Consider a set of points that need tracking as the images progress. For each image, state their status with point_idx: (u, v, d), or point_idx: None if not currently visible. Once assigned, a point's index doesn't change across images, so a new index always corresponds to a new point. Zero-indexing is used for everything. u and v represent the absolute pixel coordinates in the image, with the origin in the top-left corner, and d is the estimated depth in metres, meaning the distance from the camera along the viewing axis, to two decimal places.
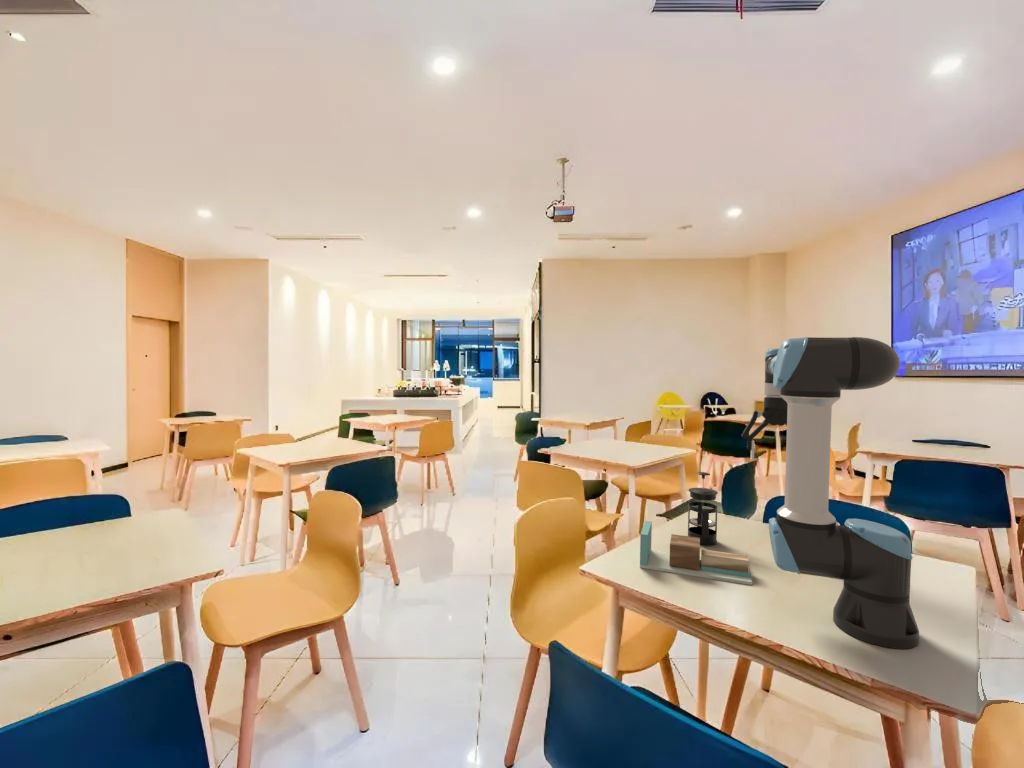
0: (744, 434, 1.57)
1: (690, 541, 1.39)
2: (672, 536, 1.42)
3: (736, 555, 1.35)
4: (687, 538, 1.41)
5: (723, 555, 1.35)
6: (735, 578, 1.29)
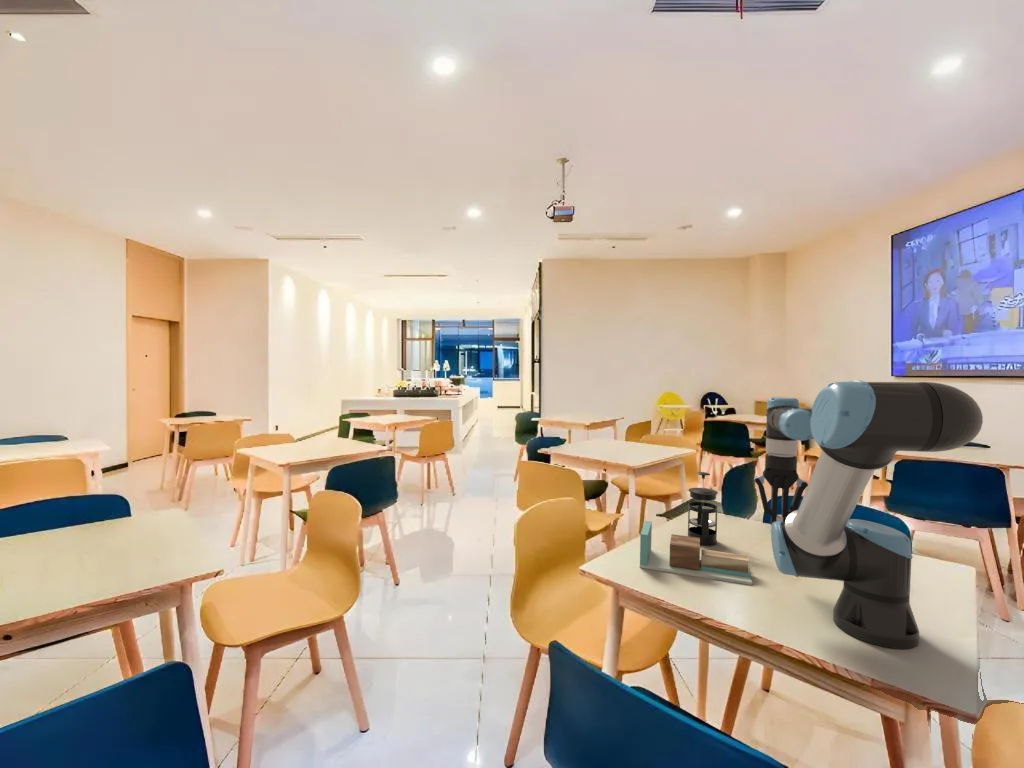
0: (765, 509, 1.30)
1: (690, 541, 1.39)
2: (672, 536, 1.42)
3: (736, 555, 1.35)
4: (687, 538, 1.41)
5: (723, 555, 1.35)
6: (735, 578, 1.29)
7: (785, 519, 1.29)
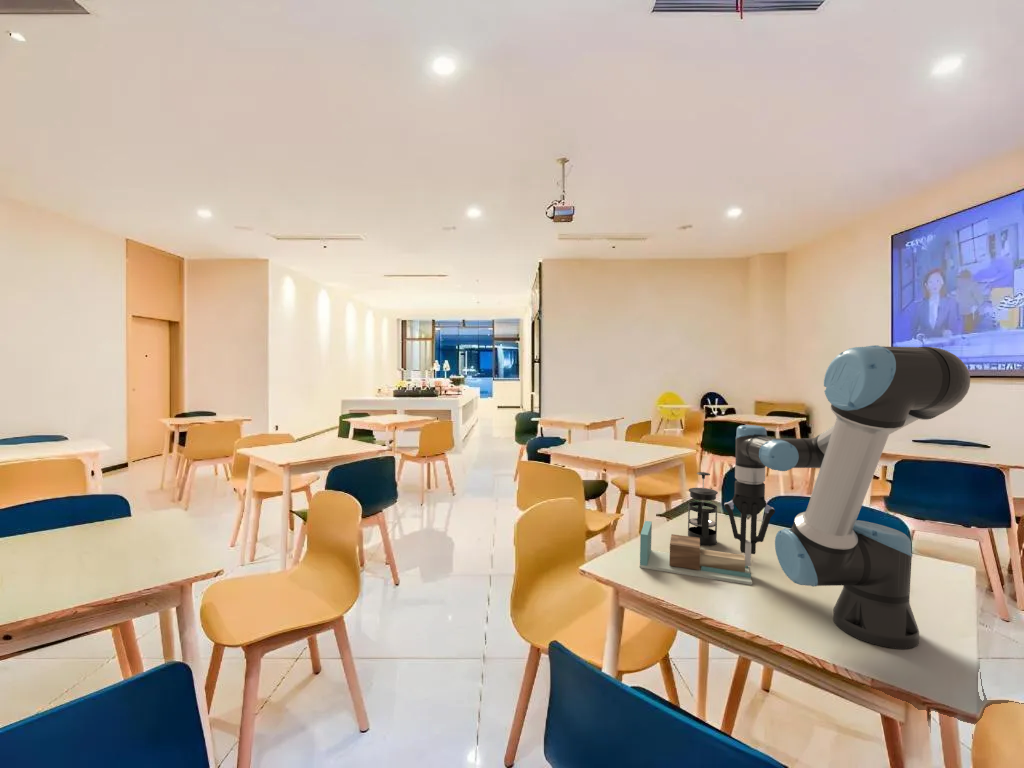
0: (735, 534, 1.33)
1: (690, 541, 1.39)
2: (672, 536, 1.42)
3: (733, 555, 1.35)
4: (687, 538, 1.41)
5: (720, 555, 1.35)
6: (735, 578, 1.29)
7: (753, 545, 1.32)
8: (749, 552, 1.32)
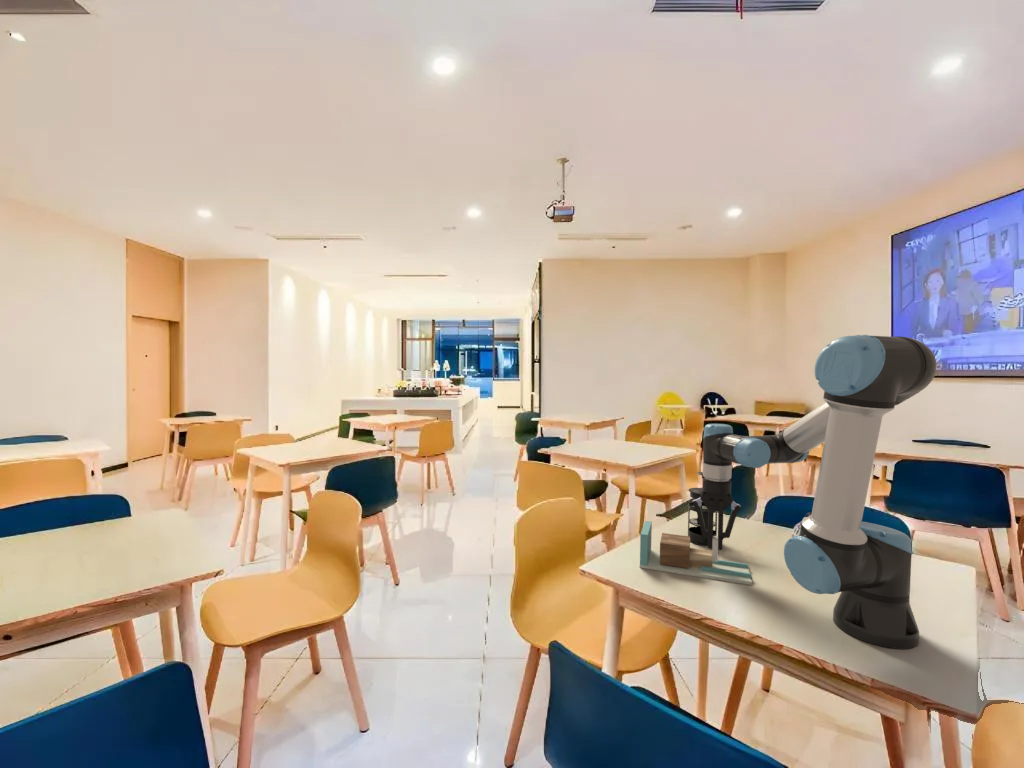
0: (702, 530, 1.36)
1: (680, 539, 1.40)
2: (663, 535, 1.43)
3: (701, 550, 1.38)
4: (678, 537, 1.42)
5: None
6: (735, 578, 1.29)
7: (720, 541, 1.35)
8: (716, 548, 1.35)
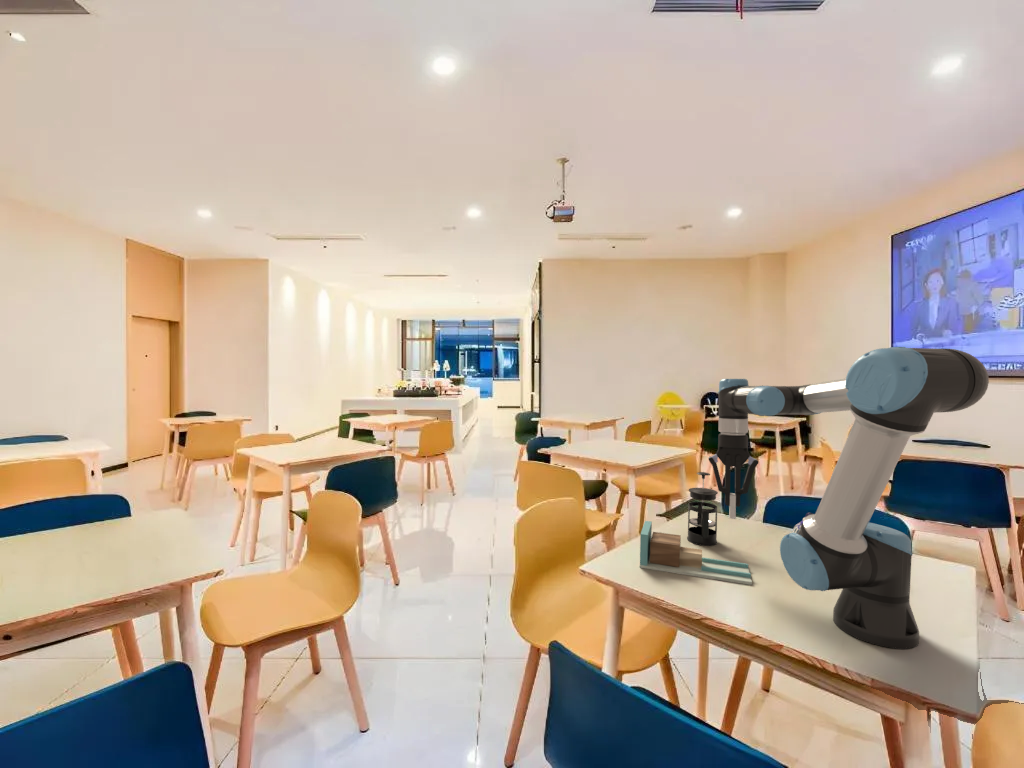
0: (719, 487, 1.34)
1: (670, 538, 1.41)
2: (653, 534, 1.44)
3: (691, 549, 1.39)
4: (668, 536, 1.42)
5: None
6: (735, 578, 1.29)
7: (738, 497, 1.32)
8: (734, 504, 1.32)
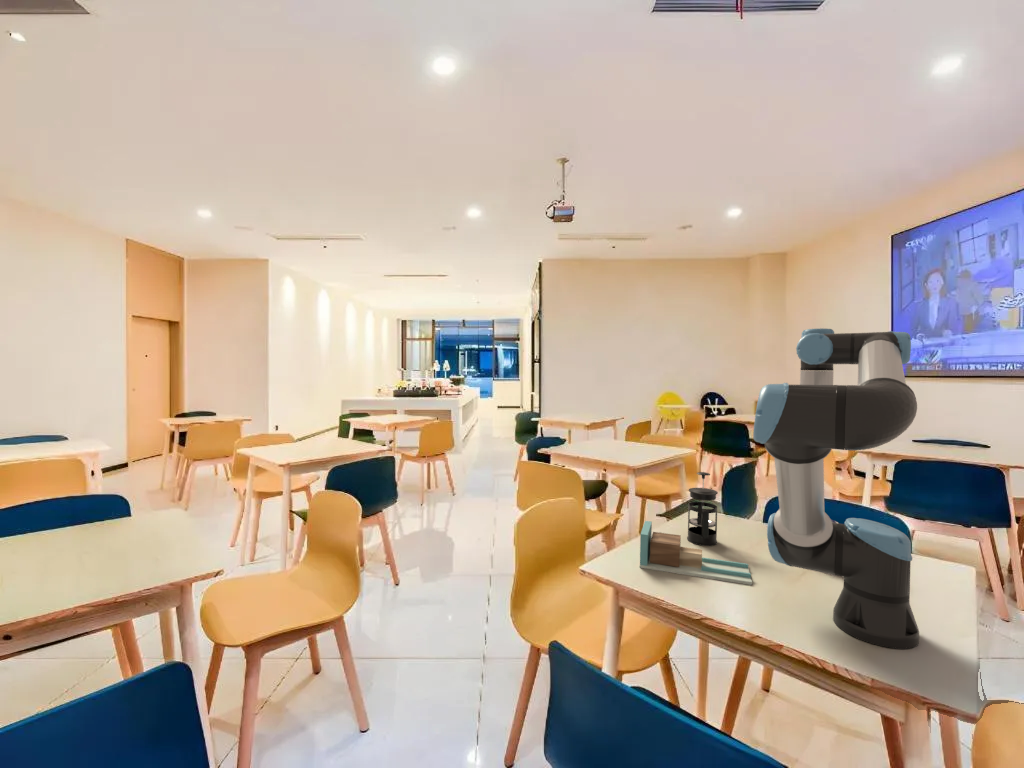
0: None
1: (670, 538, 1.41)
2: (653, 534, 1.44)
3: (691, 549, 1.39)
4: (668, 536, 1.42)
5: None
6: (735, 578, 1.29)
7: None
8: None
